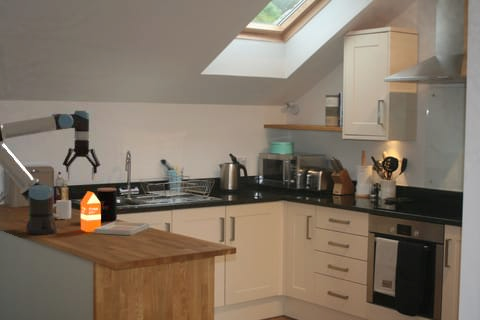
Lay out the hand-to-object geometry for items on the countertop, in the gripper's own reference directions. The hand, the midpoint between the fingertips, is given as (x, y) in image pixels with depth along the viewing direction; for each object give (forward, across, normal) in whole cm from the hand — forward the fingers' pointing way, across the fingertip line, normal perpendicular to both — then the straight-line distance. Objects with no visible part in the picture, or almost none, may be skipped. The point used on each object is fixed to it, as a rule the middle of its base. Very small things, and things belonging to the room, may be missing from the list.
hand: (81, 179), depth 371 cm
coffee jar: (+25, -7, -21) cm, 34 cm away
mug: (+26, +21, -22) cm, 40 cm away
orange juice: (+26, -10, +11) cm, 30 cm away
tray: (+25, -26, +8) cm, 37 cm away
